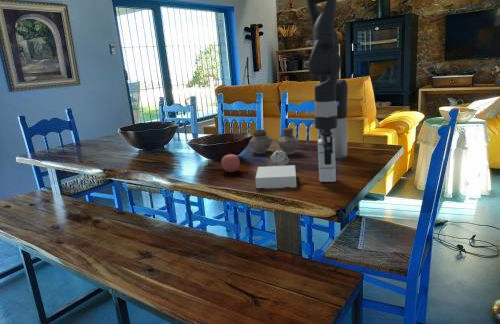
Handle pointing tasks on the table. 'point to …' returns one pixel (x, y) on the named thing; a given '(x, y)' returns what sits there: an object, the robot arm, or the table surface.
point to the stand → (276, 177)
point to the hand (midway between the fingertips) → (326, 161)
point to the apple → (230, 162)
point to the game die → (279, 158)
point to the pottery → (263, 142)
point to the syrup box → (325, 171)
